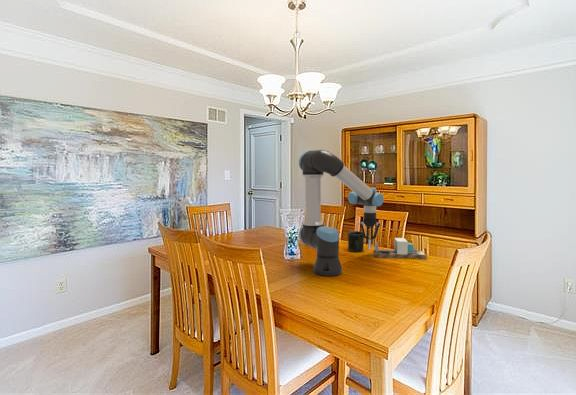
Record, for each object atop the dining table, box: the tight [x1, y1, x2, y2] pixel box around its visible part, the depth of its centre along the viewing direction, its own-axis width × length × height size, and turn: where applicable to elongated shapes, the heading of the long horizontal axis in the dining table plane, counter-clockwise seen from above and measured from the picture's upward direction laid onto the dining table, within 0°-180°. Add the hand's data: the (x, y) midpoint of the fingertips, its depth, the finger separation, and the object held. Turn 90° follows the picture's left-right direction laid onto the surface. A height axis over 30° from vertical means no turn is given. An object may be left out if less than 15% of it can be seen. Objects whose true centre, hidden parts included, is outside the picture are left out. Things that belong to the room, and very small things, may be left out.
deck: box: [372, 248, 428, 260], centre depth 202 cm, size 30×11×2 cm, turn 82°
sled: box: [374, 241, 418, 254], centre depth 201 cm, size 24×7×5 cm, turn 82°
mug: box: [347, 230, 365, 253], centre depth 217 cm, size 11×15×12 cm
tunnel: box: [393, 237, 409, 255], centre depth 201 cm, size 6×10×8 cm, turn 172°
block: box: [408, 242, 414, 252], centre depth 200 cm, size 6×4×4 cm
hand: (369, 249), depth 204 cm, fingers closed
